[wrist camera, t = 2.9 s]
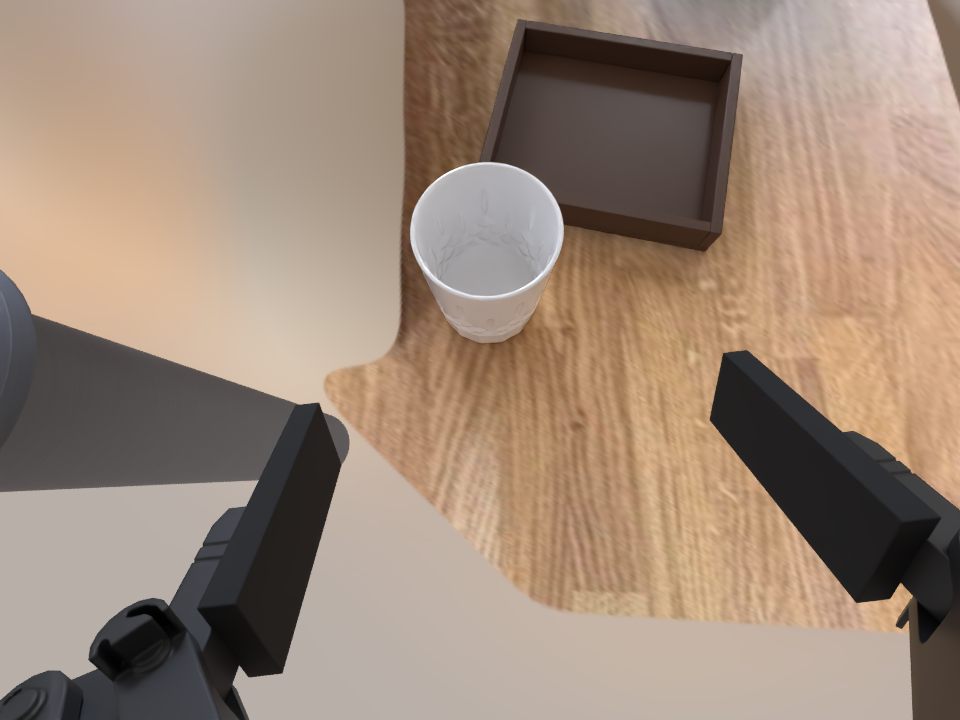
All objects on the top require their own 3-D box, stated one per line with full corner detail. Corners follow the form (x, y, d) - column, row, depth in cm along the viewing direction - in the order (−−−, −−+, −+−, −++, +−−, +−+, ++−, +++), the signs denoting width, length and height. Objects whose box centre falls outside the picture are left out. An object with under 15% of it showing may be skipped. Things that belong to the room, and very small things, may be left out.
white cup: (423, 265, 33) (395, 182, 24) (524, 239, 34) (537, 146, 24) (449, 364, 32) (430, 318, 22) (556, 335, 32) (584, 276, 22)
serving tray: (473, 206, 35) (472, 187, 32) (516, 47, 38) (517, 18, 36) (705, 251, 33) (722, 234, 31) (726, 81, 37) (743, 54, 34)
